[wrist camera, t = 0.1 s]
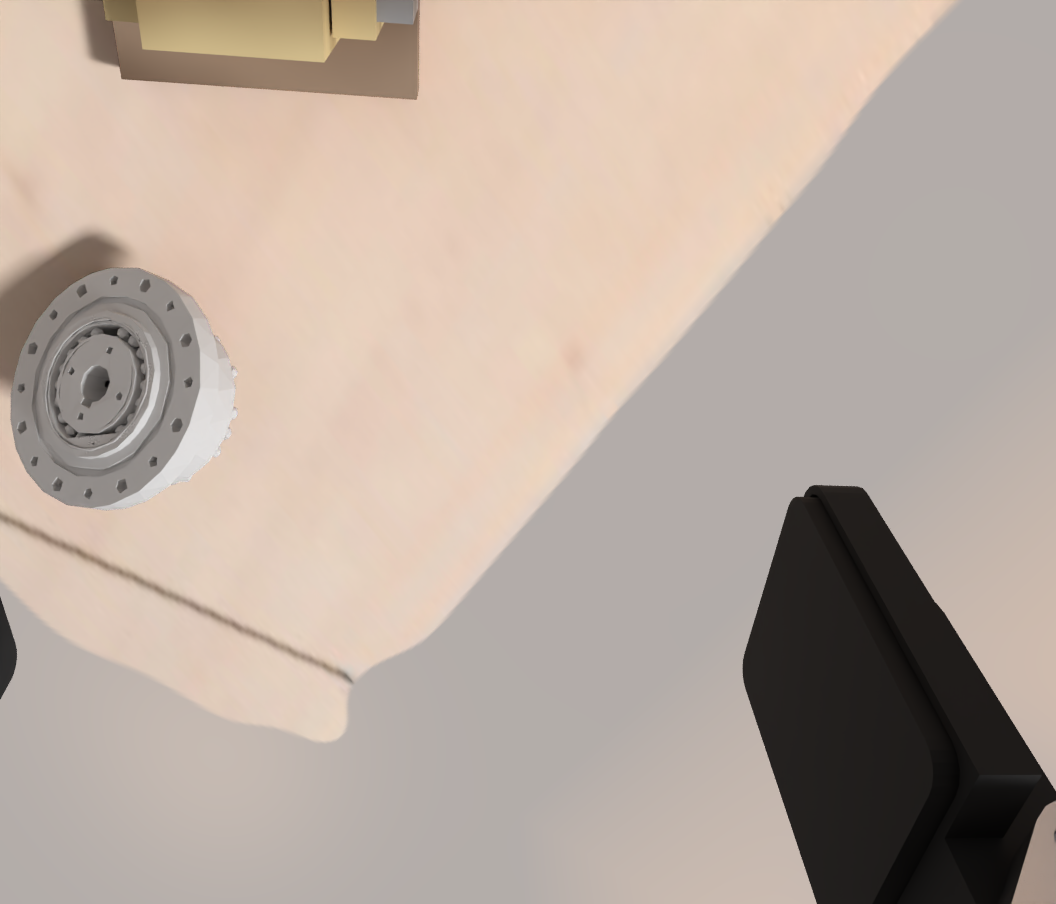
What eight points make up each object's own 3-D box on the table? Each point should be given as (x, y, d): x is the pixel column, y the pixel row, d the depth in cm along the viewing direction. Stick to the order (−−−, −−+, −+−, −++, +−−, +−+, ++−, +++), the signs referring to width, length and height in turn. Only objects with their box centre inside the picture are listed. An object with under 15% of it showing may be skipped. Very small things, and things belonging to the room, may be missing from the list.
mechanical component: (64, 234, 38) (233, 309, 34) (142, 269, 42) (301, 339, 38) (-31, 449, 38) (128, 548, 34) (57, 463, 42) (207, 553, 38)
